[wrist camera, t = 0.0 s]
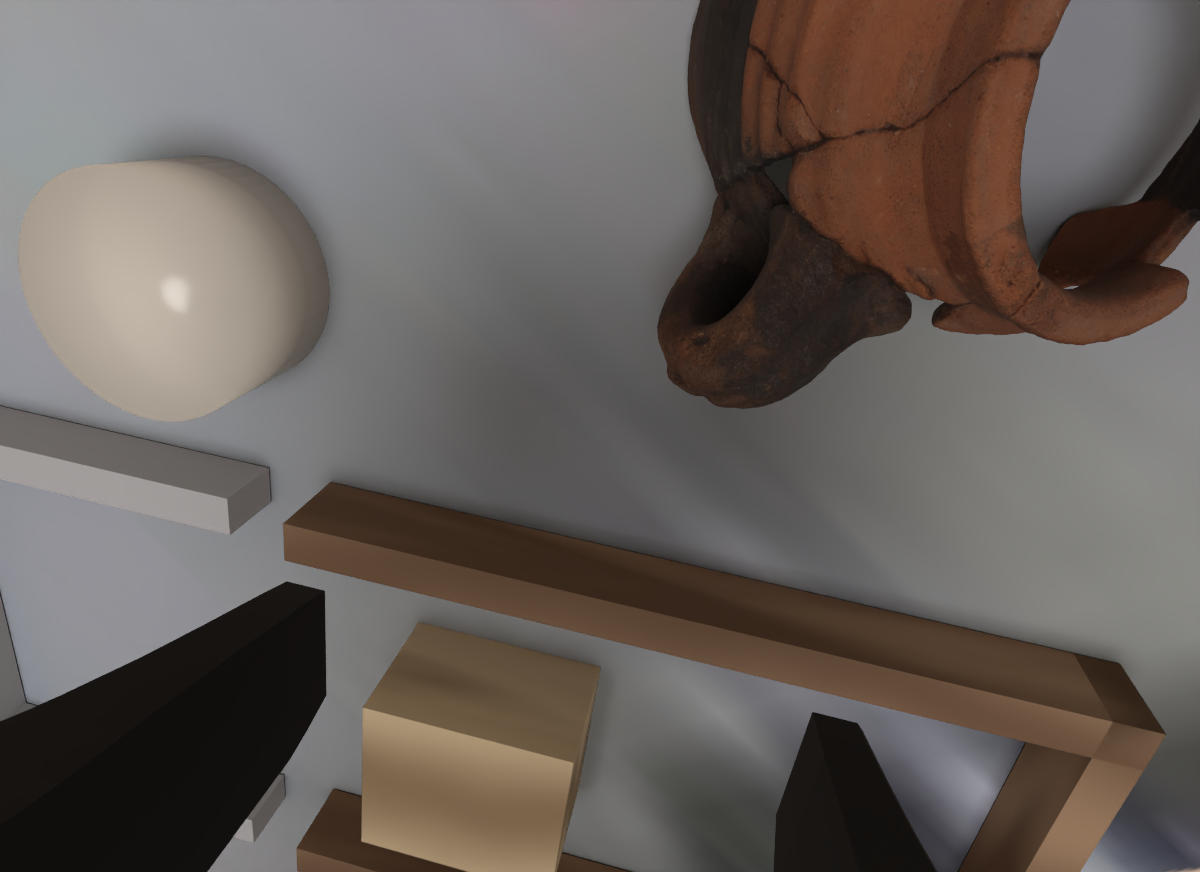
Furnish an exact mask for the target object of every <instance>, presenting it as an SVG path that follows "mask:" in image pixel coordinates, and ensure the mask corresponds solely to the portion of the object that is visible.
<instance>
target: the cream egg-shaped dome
mask: <svg viewBox="0 0 1200 872" xmlns="http://www.w3.org/2000/svg"><path fill="white" fill-rule="evenodd" d="M18 263H19V271H20V279H21V283H22V287H23V291H24V295H25V298H26V301H27V303H28V306H29V309H30V312H31V314H32V316H33V318H34V320H35V322H36V325H37V327H38V328H39V330H40V332H41V334H42V335H43V337H44V339H45V340H46V342H47V343H48V345H49V346H50V348H51V349H52V351H53V352H54V353H55V355H56V356H57V357H58V359H59V360H60V361H61V362H62V363H63V364H64V366H65V367H66V368H67V369H68V370H69V371H70V372H71V373H72V374H73V375H74V376H75V377H76V378H77V379H78V380H79V381H80V382H81V383H83V384H84V385H85V386H86V387H87V388H89V389H90V390H91V391H92V392H94V393H95V394H97V395H98V396H100V397H101V398H102V399H104V400H105V401H107V402H109V403H111V404H113V405H114V406H116V407H118V408H120V409H122V410H125V411H127V412H129V413H132V414H134V415H137V416H141V417H144V418H148V419H153V420H159V421H185V420H192V419H195V418H199V417H202V416H205V415H207V414H209V413H211V412H213V411H215V410H217V409H219V408H220V407H222V406H224V405H226V404H228V403H229V402H231V401H233V400H235V399H237V398H238V397H240V396H242V395H244V394H246V393H247V392H249V391H251V390H253V389H255V388H256V387H258V386H260V385H262V384H263V383H265V382H267V381H269V380H271V379H272V378H274V377H276V376H278V375H280V374H281V373H283V372H285V371H287V370H289V369H290V368H292V367H294V366H295V365H296V364H298V363H299V362H301V361H302V360H303V359H304V358H305V357H306V356H307V355H308V354H309V353H310V352H311V350H312V349H313V348H314V346H315V345H316V344H317V342H318V340H319V338H320V336H321V334H322V332H323V329H324V326H325V323H326V320H327V314H328V309H329V295H330V292H329V279H328V273H327V268H326V263H325V260H324V257H323V254H322V251H321V248H320V246H319V243H318V241H317V239H316V236H315V234H314V232H313V231H312V229H311V227H310V225H309V224H308V222H307V220H306V219H305V217H304V216H303V214H302V213H301V212H300V210H299V209H298V207H297V206H296V205H295V204H294V203H293V202H292V201H291V199H290V198H289V197H288V196H287V195H286V194H285V193H284V192H283V191H282V190H281V189H279V188H278V187H277V186H276V185H275V184H274V183H273V182H271V181H270V180H268V179H267V178H266V177H264V176H263V175H261V174H260V173H258V172H256V171H254V170H253V169H251V168H249V167H247V166H245V165H242V164H240V163H237V162H235V161H231V160H227V159H223V158H220V157H210V156H196V157H183V158H171V159H159V160H148V161H136V162H124V163H113V164H101V165H89V166H83V167H79V168H74V169H71V170H69V171H66V172H64V173H62V174H59V175H58V176H56V177H55V178H53V179H52V180H50V181H49V182H47V183H46V184H45V185H44V186H43V187H42V188H41V189H40V190H39V191H38V193H37V194H36V195H35V197H34V198H33V200H32V201H31V203H30V205H29V207H28V209H27V211H26V213H25V216H24V218H23V222H22V226H21V229H20V236H19V244H18Z"/></svg>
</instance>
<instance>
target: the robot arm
mask: <svg viewBox="0 0 1200 872" xmlns="http://www.w3.org/2000/svg"><path fill="white" fill-rule="evenodd" d="M325 697H326V641H325V591H323V590H319V589H315V588H311V587H307V586H303V585H299V584H295V583H291V582H285V583H283V584H281V585H279V586H277V587H275V588H273V589H271V590H269V591H267V592H265V593H263V594H261V595H259V596H257V597H255V598H253V599H252V600H250V601H248V602H246V603H244V604H242V605H240V606H238V607H237V608H235V609H233V610H231V611H229V612H227V613H225V614H223V615H222V616H220V617H218V618H216V619H214V620H212V621H210V622H208V623H207V624H205V625H203V626H201V627H199V628H197V629H195V630H193V631H191V632H189V633H187V634H185V635H183V636H182V637H180V638H178V639H176V640H174V641H172V642H170V643H168V644H166V645H164V646H162V647H160V648H158V649H156V650H155V651H153V652H151V653H149V654H147V655H145V656H143V657H141V658H139V659H137V660H135V661H132V662H130V663H128V664H126V665H124V666H122V667H120V668H118V669H116V670H114V671H111V672H109V673H107V674H105V675H103V676H101V677H99V678H97V679H95V680H92V681H90V682H88V683H86V684H84V685H82V686H80V687H78V688H76V689H73V690H71V691H69V692H67V693H65V694H63V695H61V696H59V697H56V698H54V699H52V700H49V701H47V702H45V703H43V704H40V705H38V706H36V707H33V708H31V709H29V710H26V711H24V712H22V713H19V714H17V715H14V716H12V717H10V718H7V719H5V720H2V721H0V872H207V871H208V870H209V869H210V867H211V866H212V865H213V863H214V862H215V861H216V859H217V858H218V856H219V855H220V854H221V852H222V851H223V850H224V848H225V847H226V846H227V844H228V843H229V842H230V840H231V839H232V838H233V836H234V835H235V834H236V832H237V831H238V830H239V828H240V827H241V825H242V824H243V823H244V821H245V820H246V819H247V817H248V816H249V815H250V813H251V812H252V811H253V809H254V808H255V807H256V805H257V804H258V802H259V801H260V800H261V798H262V797H263V796H264V794H265V793H266V792H267V790H268V789H269V787H270V786H271V785H272V783H273V782H274V781H275V779H276V778H277V776H278V775H279V774H280V772H281V771H282V770H283V768H284V767H285V765H286V764H287V763H288V761H289V760H290V758H291V757H292V755H293V753H294V752H295V750H296V748H297V746H298V745H299V743H300V741H301V740H302V738H303V736H304V735H305V733H306V731H307V729H308V728H309V726H310V724H311V722H312V720H313V718H314V717H315V715H316V713H317V711H318V709H319V708H320V706H321V704H322V702H323V700H324V698H325ZM774 872H937V871H936V869H935V867H934V865H933V864H932V862H931V860H930V858H929V857H928V855H927V853H926V851H925V850H924V848H923V846H922V844H921V843H920V841H919V839H918V837H917V835H916V834H915V832H914V830H913V828H912V826H911V824H910V822H909V821H908V819H907V817H906V815H905V813H904V811H903V809H902V807H901V806H900V804H899V802H898V800H897V798H896V796H895V794H894V792H893V790H892V788H891V786H890V784H889V783H888V781H887V779H886V777H885V775H884V773H883V771H882V769H881V767H880V765H879V763H878V761H877V759H876V757H875V755H874V753H873V751H872V749H871V747H870V745H869V743H868V741H867V739H866V737H865V735H864V733H863V731H862V729H861V728H860V726H859V725H858V723H855V722H851V721H847V720H842V719H838V718H834V717H830V716H826V715H822V714H818V713H814V712H812V715H811V718H810V721H809V723H808V726H807V729H806V732H805V735H804V738H803V741H802V743H801V746H800V749H799V752H798V755H797V758H796V760H795V763H794V766H793V769H792V772H791V775H790V777H789V780H788V783H787V786H786V789H785V792H784V794H783V797H782V800H781V803H780V806H779V809H778V811H777V814H776V833H775V853H774Z"/></svg>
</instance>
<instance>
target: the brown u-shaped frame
mask: <svg viewBox="0 0 1200 872" xmlns="http://www.w3.org/2000/svg"><path fill="white" fill-rule="evenodd" d="M283 533H284V557H285V561H289V562H293V563H298V564H302V565H306V566H310V567H314V568H318V569H322V570H326V571H330V572H334V573H338V574H342V575H347V576H351V577H355V578H359V579H363V580H367V581H371V582H375V583H379V584H383V585H387V586H391V587H396V588H400V589H404V590H408V591H412V592H416V593H420V594H424V595H428V596H432V597H436V598H440V599H445V600H449V601H453V602H457V603H461V604H465V605H469V606H473V607H477V608H481V609H485V610H489V611H494V612H498V613H502V614H506V615H510V616H514V617H518V618H522V619H526V620H530V621H534V622H538V623H543V624H547V625H551V626H555V627H559V628H563V629H567V630H571V631H575V632H579V633H583V634H587V635H592V636H596V637H600V638H604V639H608V640H612V641H616V642H620V643H624V644H628V645H632V646H636V647H641V648H645V649H649V650H653V651H657V652H661V653H665V654H669V655H673V656H677V657H681V658H685V659H690V660H694V661H698V662H702V663H706V664H710V665H714V666H718V667H722V668H726V669H730V670H735V671H739V672H743V673H747V674H751V675H755V676H759V677H763V678H767V679H771V680H775V681H779V682H784V683H788V684H792V685H796V686H800V687H804V688H808V689H812V690H816V691H820V692H824V693H828V694H833V695H837V696H841V697H845V698H849V699H853V700H857V701H861V702H865V703H869V704H873V705H877V706H882V707H886V708H890V709H894V710H898V711H902V712H906V713H910V714H914V715H918V716H922V717H926V718H931V719H935V720H939V721H943V722H947V723H951V724H955V725H959V726H963V727H967V728H971V729H975V730H980V731H984V732H988V733H992V734H996V735H1000V736H1004V737H1008V738H1012V739H1016V740H1020V741H1024V742H1026V744H1025V746H1024V748H1023V750H1022V752H1021V754H1020V756H1019V758H1018V759H1017V761H1016V763H1015V765H1014V767H1013V769H1012V771H1011V773H1010V775H1009V777H1008V778H1007V780H1006V782H1005V784H1004V786H1003V788H1002V790H1001V792H1000V794H999V796H998V797H997V799H996V801H995V803H994V805H993V807H992V809H991V811H990V813H989V815H988V816H987V818H986V820H985V822H984V824H983V826H982V828H981V830H980V832H979V833H978V835H977V837H976V839H975V841H974V843H973V845H972V847H971V849H970V851H969V852H968V854H967V856H966V858H965V860H964V862H963V864H962V866H961V868H960V870H959V871H958V872H1080V871H1081V869H1082V868H1083V866H1084V864H1085V863H1086V861H1087V860H1088V858H1089V856H1090V855H1091V853H1092V852H1093V850H1094V849H1095V847H1096V845H1097V844H1098V842H1099V841H1100V839H1101V837H1102V836H1103V834H1104V833H1105V831H1106V830H1107V828H1108V826H1109V825H1110V823H1111V822H1112V820H1113V818H1114V817H1115V815H1116V814H1117V812H1118V811H1119V809H1120V807H1121V806H1122V804H1123V803H1124V801H1125V799H1126V798H1127V796H1128V795H1129V793H1130V791H1131V790H1132V788H1133V787H1134V785H1135V784H1136V782H1137V780H1138V779H1139V777H1140V776H1141V774H1142V772H1143V771H1144V769H1145V768H1146V766H1147V765H1148V763H1149V761H1150V760H1151V758H1152V757H1153V755H1154V753H1155V752H1156V750H1157V749H1158V747H1159V746H1160V744H1161V742H1162V741H1163V739H1164V738H1165V736H1166V733H1165V732H1164V730H1163V729H1162V727H1161V726H1160V724H1159V723H1158V721H1157V720H1156V718H1155V717H1154V715H1153V714H1152V712H1151V711H1150V709H1149V707H1148V706H1147V704H1146V703H1145V701H1144V700H1143V698H1142V697H1141V695H1140V694H1139V692H1138V691H1137V689H1136V688H1135V686H1134V685H1133V683H1132V681H1131V680H1130V678H1129V677H1128V675H1127V674H1126V672H1125V671H1124V669H1123V668H1122V666H1121V665H1120V664H1117V663H1113V662H1108V661H1104V660H1100V659H1095V658H1091V657H1087V656H1082V655H1078V654H1074V653H1069V652H1065V651H1060V650H1056V649H1052V648H1047V647H1043V646H1039V645H1034V644H1030V643H1026V642H1021V641H1017V640H1013V639H1008V638H1004V637H1000V636H995V635H991V634H987V633H982V632H978V631H974V630H969V629H965V628H961V627H956V626H952V625H948V624H943V623H939V622H935V621H930V620H926V619H922V618H917V617H913V616H909V615H904V614H900V613H896V612H891V611H887V610H883V609H878V608H874V607H870V606H865V605H861V604H857V603H852V602H848V601H843V600H839V599H835V598H830V597H826V596H822V595H817V594H813V593H809V592H804V591H800V590H796V589H791V588H787V587H783V586H778V585H774V584H770V583H765V582H761V581H757V580H752V579H748V578H744V577H739V576H735V575H731V574H726V573H722V572H718V571H713V570H709V569H705V568H700V567H696V566H692V565H687V564H683V563H679V562H674V561H670V560H666V559H661V558H657V557H653V556H648V555H644V554H640V553H635V552H631V551H627V550H622V549H618V548H613V547H609V546H605V545H600V544H596V543H592V542H587V541H583V540H579V539H574V538H570V537H566V536H561V535H557V534H553V533H548V532H544V531H540V530H535V529H531V528H527V527H522V526H518V525H514V524H509V523H505V522H501V521H496V520H492V519H488V518H483V517H479V516H475V515H470V514H466V513H462V512H457V511H453V510H449V509H444V508H440V507H436V506H431V505H427V504H423V503H418V502H414V501H410V500H405V499H401V498H396V497H392V496H388V495H383V494H379V493H375V492H370V491H366V490H362V489H357V488H353V487H349V486H344V485H340V484H336V483H331V482H330V483H329V484H328V485H327V486H326V487H324V488H323V489H322V490H321V491H320V492H319V493H318V494H316V495H315V496H314V497H313V498H312V499H311V500H310V501H308V502H307V503H306V504H305V505H304V506H303V507H302V508H300V509H299V510H298V511H297V512H296V513H295V514H294V515H292V516H291V517H290V518H289V519H288V520H287V521H286V522H284V523H283ZM361 838H362V797H360V796H356V795H353V794H349V793H346V792H342V791H338V790H335V789H333V791H332V792H331V794H330V795H329V797H328V799H327V800H326V802H325V803H324V805H323V807H322V808H321V810H320V811H319V813H318V815H317V816H316V818H315V819H314V821H313V823H312V824H311V826H310V827H309V829H308V831H307V832H306V834H305V836H304V837H303V839H302V840H301V842H300V844H299V845H298V847H297V871H299V872H467V871H464V870H460V869H457V868H453V867H450V866H446V865H443V864H439V863H436V862H432V861H429V860H425V859H422V858H418V857H415V856H411V855H408V854H404V853H401V852H397V851H394V850H390V849H386V848H383V847H379V846H376V845H372V844H369V843H365V842H362V841H361ZM557 872H628V871H624V870H621V869H617V868H614V867H610V866H606V865H603V864H599V863H596V862H592V861H589V860H585V859H581V858H578V857H574V856H571V855H567V854H564V853H561V857H560V860H559V864H558V868H557Z"/></svg>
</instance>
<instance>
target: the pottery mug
mask: <svg viewBox="0 0 1200 872" xmlns="http://www.w3.org/2000/svg"><path fill="white" fill-rule="evenodd" d="M1069 2H1070V0H701V1H700V4H699V8H698V12H697V15H696V19H695V22H694V25H693V30H692V35H691V44H690V54H689V64H688V96H689V105H690V111H691V115H692V119H693V122H694V125H695V129H696V133H697V137H698V140H699V142H700V145H701V148H702V151H703V153H704V156H705V158H706V161H707V163H708V165H709V169H710V172H711V174H712V177H713V180H714V185H715V189H716V191H717V193H718V196H717V198H716V200H715V203H714V206H713V212H712V216H711V221H710V224H709V227H708V229H707V232H706V234H705V236H704V238H703V241H702V243H701V245H700V246H699V249H698V251H697V253H696V255H695V256H694V257H693V258H692V259H691V260H690V262H689V263H688V264H687V265H686V267H685V268H684V270H683V272H682V273H681V275H680V276H679V278H678V279H677V281H676V282H675V284H674V286H673V287H672V289H671V290H670V292H669V294H668V296H667V298H666V301H665V303H664V306H663V308H662V311H661V314H660V317H659V321H658V326H657V328H658V339H659V343H660V346H661V349H662V351H663V354H664V356H665V359H666V362H667V374H668V378H669V379H670V380H671V381H672V382H673V383H674V384H675V385H677V386H678V387H680V388H681V389H682V390H684V391H685V392H687V393H689V394H691V395H695V396H704V397H706V398H707V399H708V400H709V401H710V402H711V403H712V404H714V405H716V406H719V407H725V408H741V409H746V408H755V407H761V406H765V405H768V404H772V403H774V402H777V401H779V400H782V399H784V398H786V397H788V396H789V395H791V394H792V393H794V392H796V391H797V390H799V389H800V388H802V387H803V386H805V385H807V384H808V383H810V382H811V381H812V380H813V379H814V378H815V377H816V376H817V375H818V374H819V373H820V372H822V371H823V370H824V369H825V367H826V366H827V365H828V364H829V363H830V362H831V361H832V360H833V359H834V358H835V357H836V356H838V355H839V354H840V353H841V352H843V351H844V350H845V349H847V348H848V347H849V346H851V345H852V344H854V343H855V342H857V341H859V340H861V339H864V338H867V337H874V336H881V335H885V334H889V333H893V332H896V331H899V330H900V329H902V328H903V326H904V325H905V324H906V323H907V322H908V321H909V319H910V318H911V312H912V309H911V307H912V304H911V301H910V299H909V297H908V296H907V295H906V294H905V292H910V293H913V294H915V295H917V296H919V297H921V298H923V299H926V300H933V299H938V300H941V301H943V302H944V303H943V304H941V305H940V306H939V307H938V308H937V309H936V310H935V311H934V313H933V316H932V325H933V326H934V327H938V328H939V329H943V330H946V331H951V332H960V333H966V334H977V335H978V334H994V335H1008V334H1018V333H1023V332H1027V333H1030V334H1034V335H1036V336H1038V337H1041V338H1044V339H1046V340H1051V341H1054V342H1057V343H1065V344H1075V345H1086V344H1091V343H1096V342H1107V341H1110V340H1113V339H1115V338H1119V337H1123V336H1127V335H1130V334H1133V333H1135V332H1137V331H1139V330H1140V329H1142V328H1144V327H1146V326H1149V325H1151V324H1153V323H1155V322H1157V321H1159V320H1161V319H1162V318H1164V317H1165V316H1167V315H1169V314H1170V313H1172V312H1173V311H1174V310H1175V309H1177V308H1178V307H1179V306H1180V305H1181V304H1182V303H1183V302H1184V301H1185V300H1186V298H1187V289H1188V285H1189V280H1188V278H1187V276H1185V275H1184V274H1183V273H1182V272H1181V271H1179V270H1176V269H1172V268H1168V267H1163V266H1160V264H1162V263H1163V262H1164V261H1165V260H1166V259H1167V258H1168V257H1169V255H1170V254H1171V253H1172V252H1173V251H1174V250H1175V249H1176V247H1177V246H1178V245H1179V243H1180V242H1181V241H1182V240H1183V239H1184V237H1185V236H1186V235H1187V234H1188V233H1189V232H1190V230H1191V229H1192V227H1193V226H1194V225H1195V224H1196V223H1197V222H1198V221H1200V119H1199V121H1198V123H1197V125H1196V126H1195V128H1194V129H1193V131H1192V133H1191V134H1190V135H1189V137H1188V138H1187V139H1186V140H1185V142H1184V143H1183V145H1182V146H1181V147H1180V149H1179V150H1178V151H1177V153H1176V154H1175V155H1174V156H1173V158H1172V159H1171V160H1170V161H1169V162H1168V164H1167V165H1166V167H1165V168H1164V170H1163V171H1162V173H1161V174H1160V175H1159V177H1158V178H1157V179H1156V180H1155V181H1154V182H1153V183H1152V184H1151V185H1150V186H1149V188H1148V189H1147V191H1146V192H1145V194H1144V195H1143V197H1142V198H1141V199H1140V200H1139V201H1137V202H1135V203H1131V204H1127V205H1122V206H1113V207H1108V208H1104V209H1100V210H1096V211H1091V212H1085V213H1081V214H1078V215H1076V216H1074V217H1072V218H1071V219H1070V220H1069V221H1068V222H1066V223H1065V224H1064V225H1063V226H1062V228H1061V229H1060V231H1059V232H1058V234H1057V235H1056V237H1055V238H1054V240H1053V241H1052V242H1051V244H1050V245H1049V247H1048V250H1047V252H1046V254H1045V256H1044V258H1043V259H1042V261H1041V263H1040V266H1039V269H1038V268H1037V266H1036V263H1035V261H1034V259H1033V257H1032V255H1031V253H1030V250H1029V247H1028V244H1027V240H1026V232H1025V228H1024V223H1023V218H1022V205H1021V188H1020V176H1021V159H1022V150H1023V144H1024V134H1025V126H1026V122H1027V118H1028V114H1029V110H1030V106H1031V102H1032V98H1033V94H1034V90H1035V86H1036V83H1037V79H1038V75H1039V68H1040V59H1041V57H1042V55H1043V53H1044V52H1045V50H1046V49H1047V47H1048V46H1049V45H1050V43H1051V41H1052V39H1053V37H1054V34H1055V32H1056V30H1057V28H1058V25H1059V23H1060V20H1061V18H1062V16H1063V14H1064V11H1065V9H1066V7H1067V6H1068V4H1069ZM787 157H790V158H792V170H791V172H790V174H789V177H788V183H787V193H788V197H789V202H788V201H787V199H786V198H785V197H784V195H783V194H782V193H781V192H780V191H779V190H778V188H777V187H776V186H775V184H774V183H773V182H772V181H771V179H770V178H769V177H768V176H767V175H766V174H765V167H766V166H767V165H770V164H772V163H773V162H775V161H778V160H782V159H785V158H787ZM1069 286H1079V287H1077V288H1074V289H1062V288H1066V287H1069Z"/></svg>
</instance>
